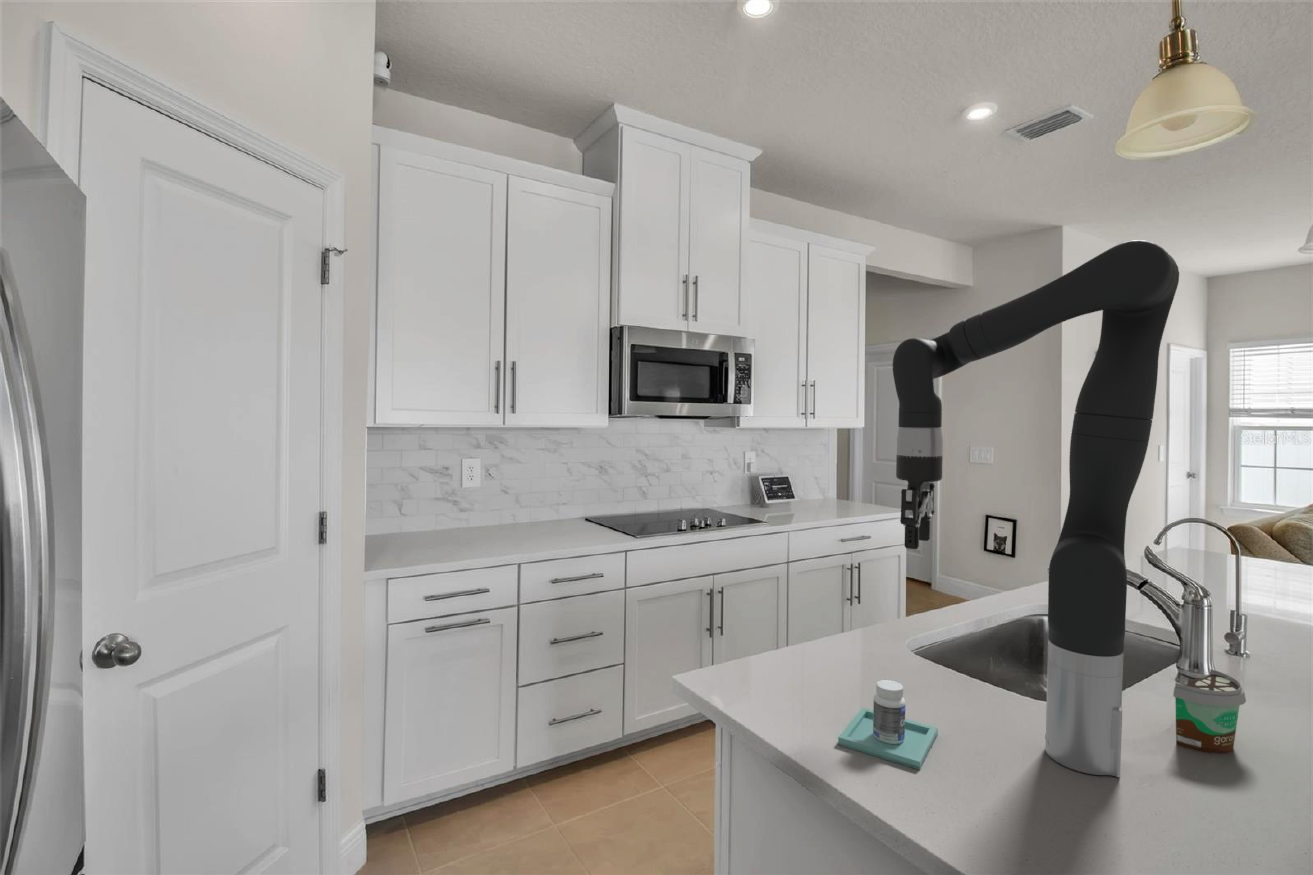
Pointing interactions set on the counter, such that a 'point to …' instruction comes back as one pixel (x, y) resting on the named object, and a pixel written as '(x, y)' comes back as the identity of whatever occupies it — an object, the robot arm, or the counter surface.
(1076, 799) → the counter surface
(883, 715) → the pill bottle
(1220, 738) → the food container
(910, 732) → the tray
